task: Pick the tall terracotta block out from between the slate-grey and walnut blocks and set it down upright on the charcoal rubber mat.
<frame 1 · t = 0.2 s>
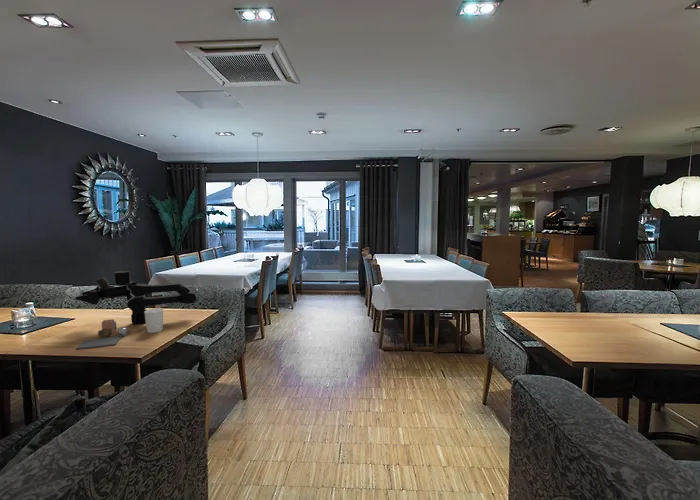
hand: (78, 295, 170), 16 cm above the table, tool horizontal, fingers open, 9 cm apart
slate block: (112, 329, 171), on the table
terracotta block: (108, 333, 166), on the table
walnut block: (105, 337, 160), on the table
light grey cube: (122, 335, 162), on the table
white cup: (155, 331, 169), on the table
charcoal mat: (99, 343, 153), on the table
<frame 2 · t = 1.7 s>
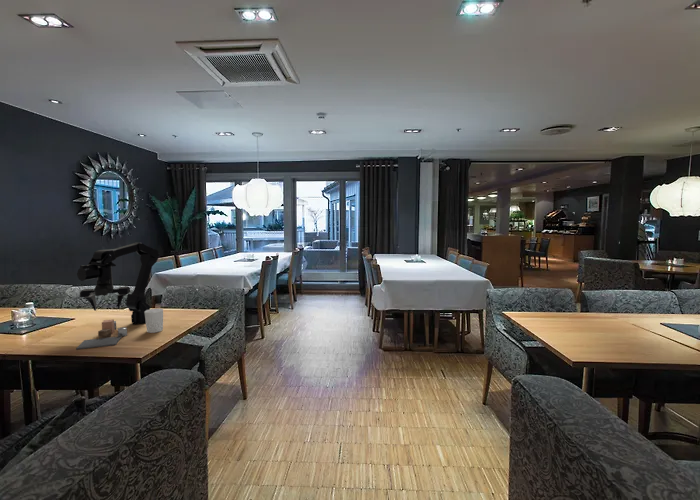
hand: (107, 309, 165), 11 cm above the table, tool pointing down, fingers open, 9 cm apart
nothing on the table moved.
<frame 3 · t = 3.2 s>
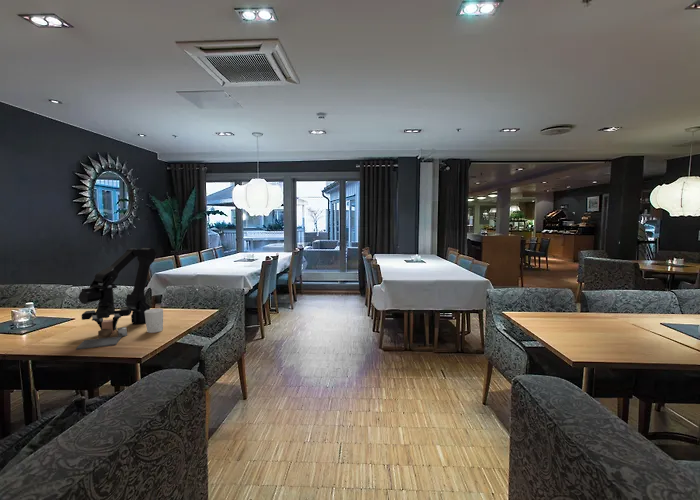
hand: (108, 330, 166), 1 cm above the table, tool pointing down, fingers closed on terracotta block, 4 cm apart
terracotta block: (108, 333, 166), on the table, touching gripper
everything else where it was.
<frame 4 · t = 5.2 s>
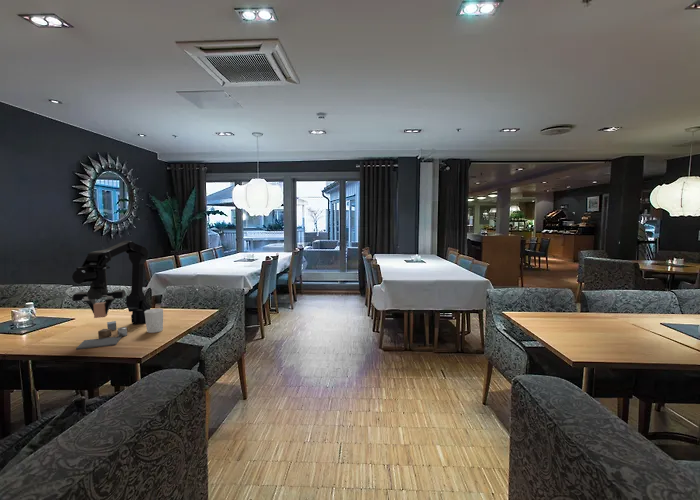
hand: (100, 314, 157), 12 cm above the table, tool pointing down, fingers closed on terracotta block, 4 cm apart
terracotta block: (100, 316, 157), point 11 cm above the table, touching gripper
everything else where it was.
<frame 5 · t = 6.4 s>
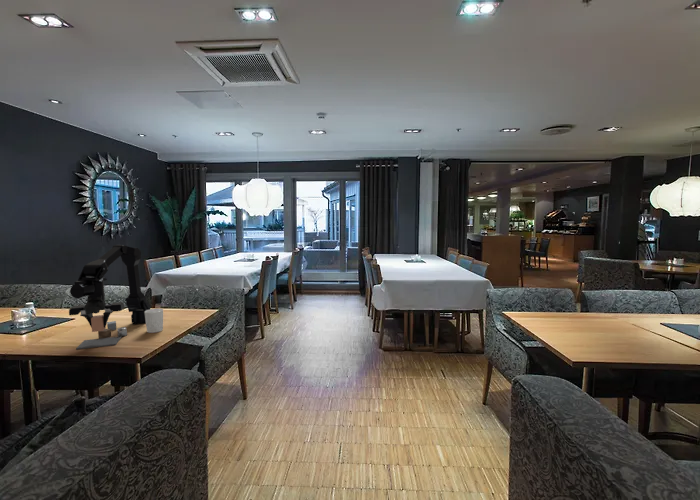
hand: (98, 327, 152), 7 cm above the table, tool pointing down, fingers closed on terracotta block, 4 cm apart
terracotta block: (99, 329, 152), point 6 cm above the table, touching gripper
everything else where it was.
when the fingers open (3 cm above the table, at t = 7.4 s): terracotta block drops 1 cm, resting on charcoal mat.
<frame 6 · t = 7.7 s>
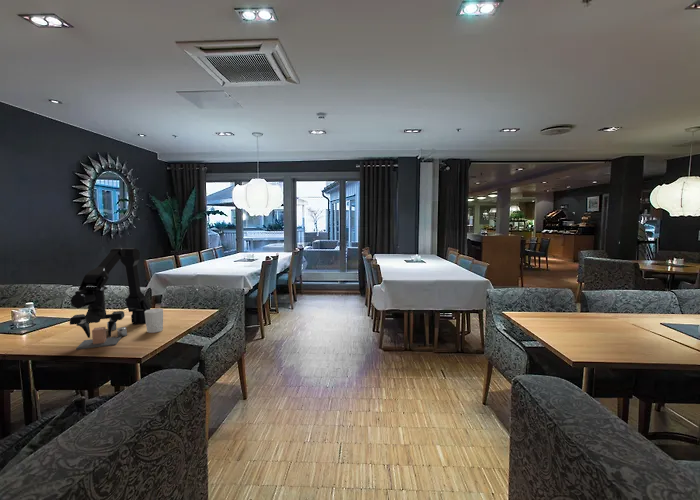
hand: (99, 336, 152), 3 cm above the table, tool pointing down, fingers open, 7 cm apart
terracotta block: (99, 341, 153), point 1 cm above the table, touching charcoal mat
everything else where it was.
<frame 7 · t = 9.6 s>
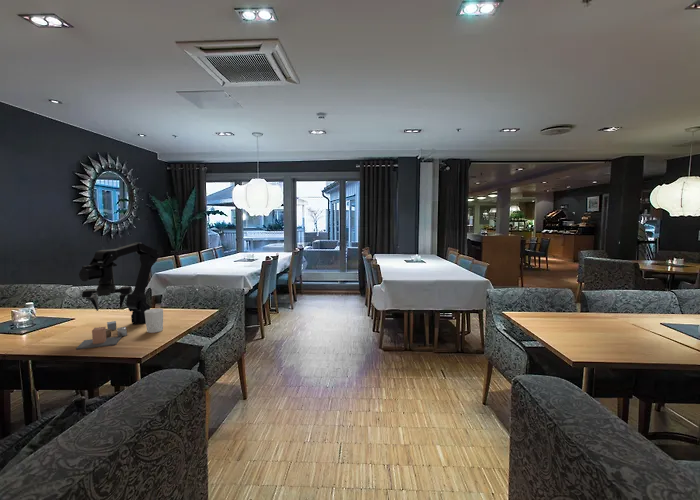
hand: (109, 309, 165), 11 cm above the table, tool pointing down, fingers open, 9 cm apart
nothing on the table moved.
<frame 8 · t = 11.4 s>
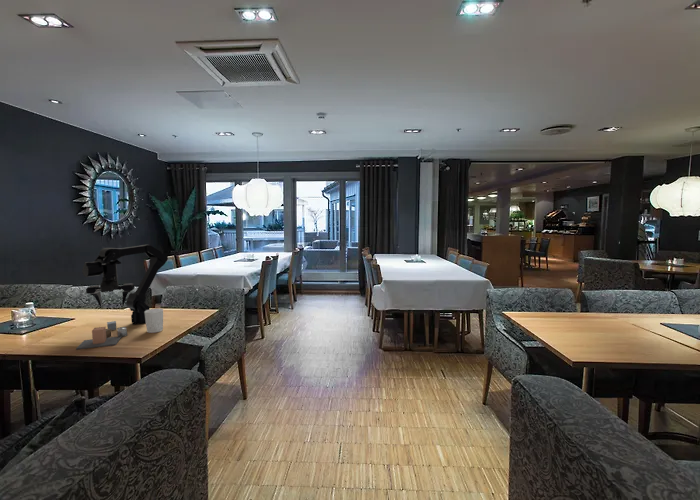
hand: (112, 305, 169), 12 cm above the table, tool pointing down, fingers open, 9 cm apart
nothing on the table moved.
at the end: terracotta block inside the target area on the charcoal mat (0.0 cm from its centre), point 0.6 cm above the charcoal mat's base; terracotta block tilted 0°; the gripper is holding nothing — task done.
